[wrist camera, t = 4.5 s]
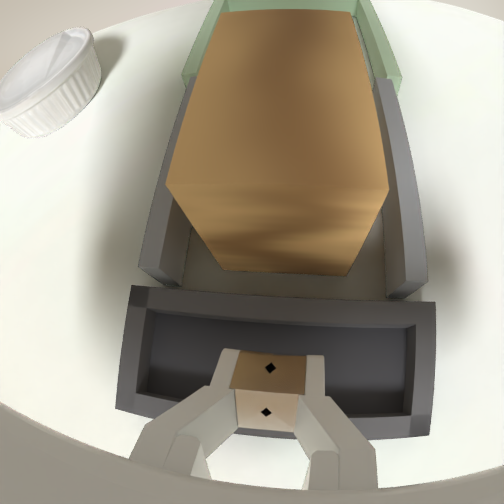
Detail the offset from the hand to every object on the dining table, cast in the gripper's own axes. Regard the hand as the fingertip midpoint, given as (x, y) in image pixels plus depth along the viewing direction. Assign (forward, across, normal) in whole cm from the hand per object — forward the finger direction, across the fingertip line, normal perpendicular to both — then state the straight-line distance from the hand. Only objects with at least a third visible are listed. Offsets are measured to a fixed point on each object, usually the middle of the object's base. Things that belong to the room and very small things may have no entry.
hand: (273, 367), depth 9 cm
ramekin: (+17, +21, -10) cm, 29 cm away
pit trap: (+4, 0, +4) cm, 5 cm away
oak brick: (+10, 0, -3) cm, 11 cm away
